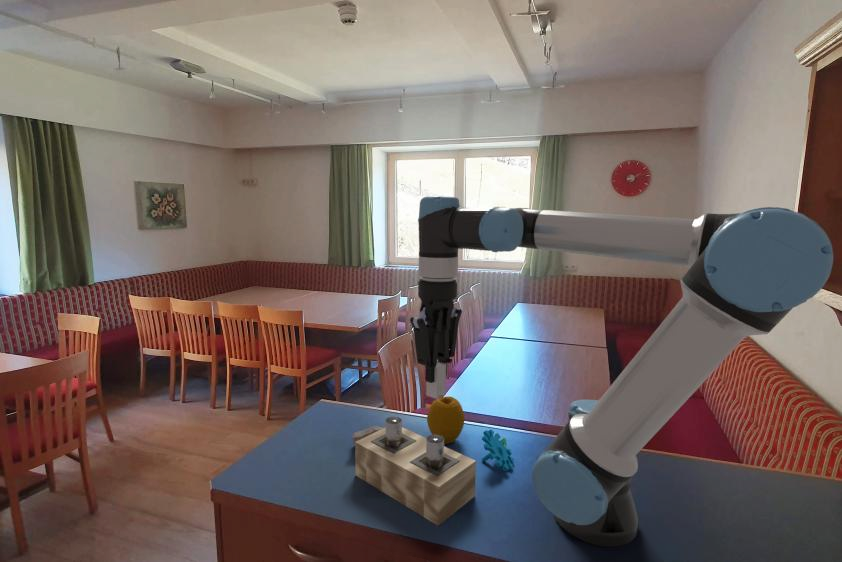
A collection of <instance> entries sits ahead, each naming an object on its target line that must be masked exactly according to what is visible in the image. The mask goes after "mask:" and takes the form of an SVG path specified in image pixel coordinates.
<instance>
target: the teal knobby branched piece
mask: <svg viewBox="0 0 842 562" xmlns="http://www.w3.org/2000/svg"><path fill="white" fill-rule="evenodd" d="M482 434H483V436H482V437H481V440H482V441H483V442H484V444H483V449H484V450H485V451H489V453H487V454H486V455H484V456H483V457H481V461H482V462H483V463H485V462H487V461H488V460H491V461H492V460H494V459H496V460H497V461H496V462H495V466H496V467H498V469H499V468H501V469H502V470H503V471H504V472H508V471H509V470H511V469H513V468H514V465H513V464H514V463H515V459H514V458H513V457H512V456H511V455H512V454H513V453H512V450H511V449H510V448H507V447H508V443H507V441H508V440H507V438H506V437H503V438H501V435H500V434H499V433H498V432H496V433H495V432H494V430H493V429H491V428H490V429H489V430H484V431H483V432H482ZM499 439H500V440H499Z"/></svg>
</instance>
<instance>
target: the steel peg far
mask: <svg viewBox="0 0 842 562" xmlns="http://www.w3.org/2000/svg"><path fill="white" fill-rule="evenodd" d="M402 423H403V419H402V418H401V417H399V416H389V417H387V418H385V427H384V428H385V431H386V445H387V446H389V447H391V448H393V449H394V448H396V447H398V446H400V445H401V444H402V427H403V424H402Z"/></svg>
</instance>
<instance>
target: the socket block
mask: <svg viewBox="0 0 842 562" xmlns="http://www.w3.org/2000/svg"><path fill="white" fill-rule="evenodd" d="M382 428H383V429H381V430H379V431H377V432H375V433H373V434H371V435H369V436H367V437H365V438H363V439H361V440H359V441H356V442H355V446H354V447H355V448H354V449H355V452H354V453H355V456H354V457H355V460H354V461H355V476H357V478H359V479H361V480H362V481H364V482H366V483H368V484H369V485H371V486H372V487H374V488H376V489H378V490H379V491H380V492H381V493H384V494H385V495H387V496H388V497H390V498H392V499H393V500H396V501H397V502H398V503H400V504H402V505H403V506H405V507H407V508H408V509H409V510H412V511H413V512H415V513H416V514H418V515H420V516H421V517H423V518H425V519H426V520H428V521H429V522H431V523H433V524H434V525H436V526H440V525H441V524H442V523H444V522H445V521H447V519H449V518H450V517H451V516H452V515H454V514H455V513H456V512H457V511H458V510H460V509H461V508H462V507H464V506H465V505H466V504H467V503H468V502H470V501H471V500H473V498H475V497H476V474H477V473H476V471H477V470H476V468H477V460H476V459H473V458H470V457H468V456H466V455H464V454H462V453H460V452H457V451H455V450H453V449H452V448H451V449H450V448H449V447H446V446H444V466H443V467H441V468H440V469H438V470H434V469H432V468H430V467H428V466H426V438H427V437H424V436H422V435H420V434H418V433H416V432H414V431H411V430H409V429H407V428H405V427H403V426H402V444H401V445H400V446H398V447H396V448H394V449H393V448H391V447H389V446H387V445H386V431H385V427H382Z"/></svg>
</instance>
